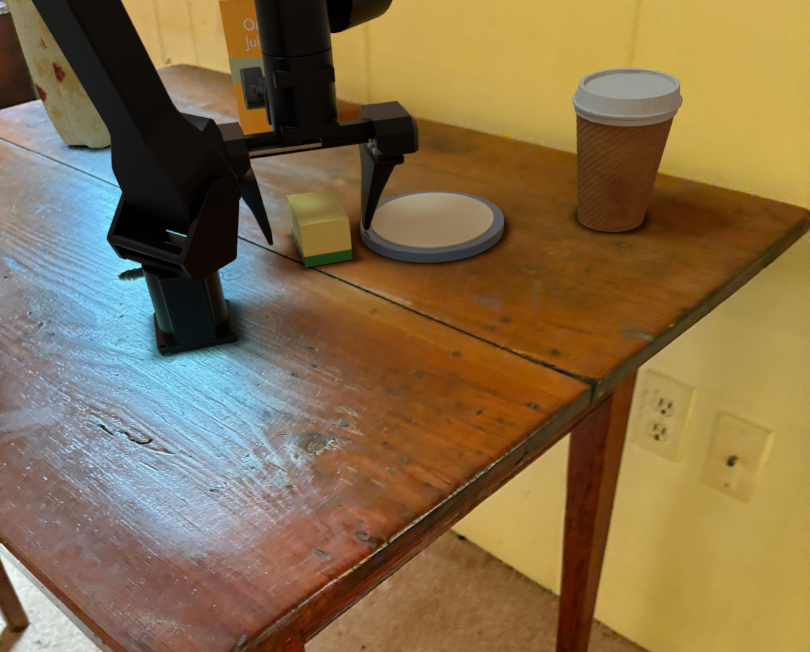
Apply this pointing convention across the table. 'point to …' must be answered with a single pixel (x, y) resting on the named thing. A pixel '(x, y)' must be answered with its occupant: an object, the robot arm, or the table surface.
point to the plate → (433, 226)
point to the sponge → (320, 227)
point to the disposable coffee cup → (621, 143)
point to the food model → (57, 81)
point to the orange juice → (243, 57)
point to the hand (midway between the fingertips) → (318, 235)
